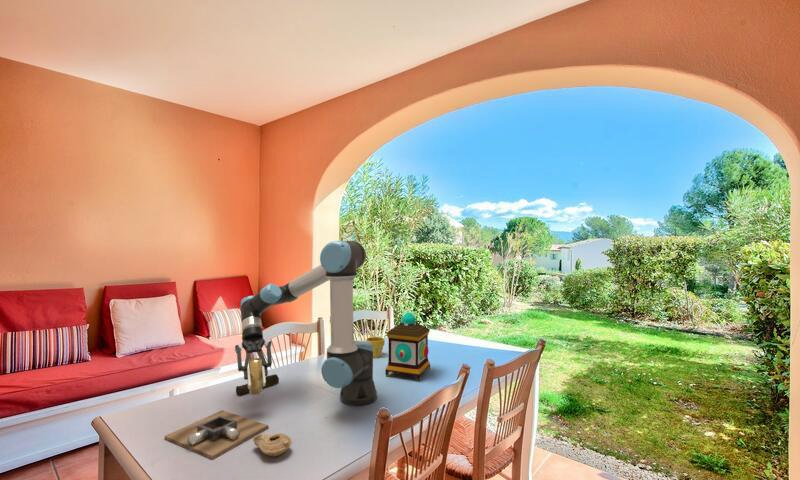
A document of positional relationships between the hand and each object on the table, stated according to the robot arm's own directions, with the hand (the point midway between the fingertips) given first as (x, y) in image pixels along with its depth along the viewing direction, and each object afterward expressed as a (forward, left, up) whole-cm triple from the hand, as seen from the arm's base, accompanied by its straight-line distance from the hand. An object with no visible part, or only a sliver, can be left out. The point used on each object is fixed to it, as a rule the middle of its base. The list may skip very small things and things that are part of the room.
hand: (256, 385), depth 134 cm
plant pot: (+2, -85, -12) cm, 86 cm away
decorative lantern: (-27, -69, -12) cm, 75 cm away
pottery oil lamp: (-21, +12, -12) cm, 27 cm away
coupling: (+3, -2, -4) cm, 5 cm away
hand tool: (+22, -20, -12) cm, 32 cm away
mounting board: (+3, +13, -12) cm, 18 cm away
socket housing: (-1, +17, -11) cm, 20 cm away
